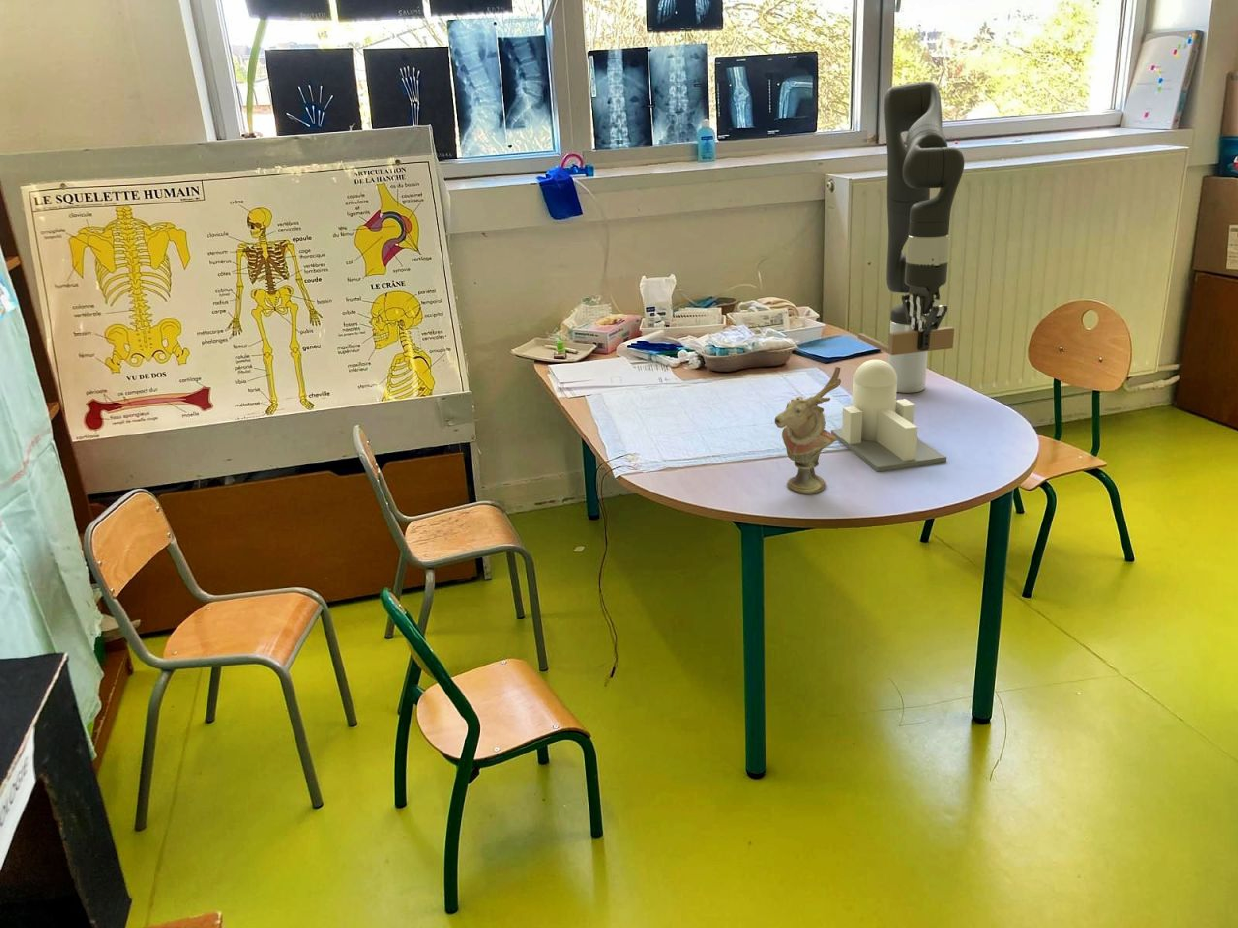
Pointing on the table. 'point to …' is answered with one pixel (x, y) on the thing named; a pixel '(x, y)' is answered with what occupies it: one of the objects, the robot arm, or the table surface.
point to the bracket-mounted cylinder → (882, 422)
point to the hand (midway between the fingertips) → (920, 348)
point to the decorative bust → (807, 437)
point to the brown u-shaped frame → (912, 341)
